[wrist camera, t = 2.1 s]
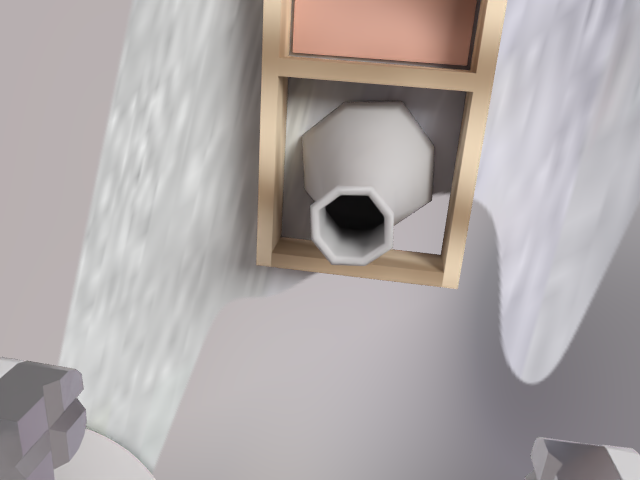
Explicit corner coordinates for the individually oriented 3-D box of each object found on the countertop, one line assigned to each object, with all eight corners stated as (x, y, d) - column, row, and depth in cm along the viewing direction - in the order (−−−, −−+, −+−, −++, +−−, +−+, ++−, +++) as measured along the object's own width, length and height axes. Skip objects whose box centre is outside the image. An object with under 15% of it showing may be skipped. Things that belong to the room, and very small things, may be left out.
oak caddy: (453, 269, 31) (457, 289, 28) (267, 248, 32) (256, 265, 29) (526, -169, 23) (540, -192, 21) (281, -177, 25) (269, -199, 22)
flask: (281, 123, 29) (225, 165, 20) (414, 77, 28) (419, 98, 18) (326, 245, 31) (294, 334, 22) (452, 209, 30) (475, 289, 20)
